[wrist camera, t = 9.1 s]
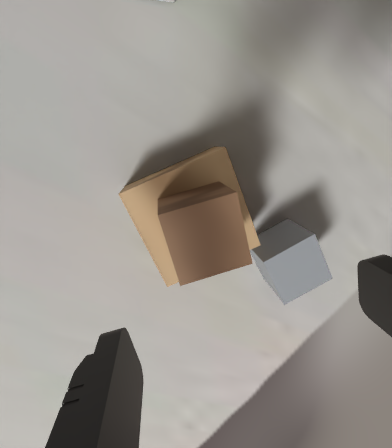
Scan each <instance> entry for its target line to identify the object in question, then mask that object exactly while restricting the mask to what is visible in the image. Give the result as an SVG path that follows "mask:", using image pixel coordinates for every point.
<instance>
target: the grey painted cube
mask: <svg viewBox="0 0 392 448" xmlns="http://www.w3.org/2000/svg"><path fill="white" fill-rule="evenodd" d="M257 236H258V239H259V242H260V246H258V247H256V248H253V249H251V250H250V253H251V255H252V257H253V259H254V261H255V263H256V264H257V266H258V268H259V270H260V272H261V274H262V276H263V278H264V280H265V281H266V282H267V283H268V285H269V286H270V287H271V289H272V290H273V291H274V292H275V294H276V295H277V296H278V297H279V299H280V300H281V301H282V302H283V304H284V305H285V304H287V303H289V302H291V301H292V300H294V299H296V298H298V297H300V296H302V295H303V294H305V293H307V292H309V291H311V290H312V289H314V288H316V287H318V286H320V285H322V284H323V283H325V282H327V281H329V280H331V279H332V275H331V273H330V270H329V268H328V265H327V263H326V260H325V258H324V255H323V253H322V250H321V248H320V245H319V243H318V240H317V238H316V235H315V234H314V233H313V232H311V231H309V230H307V229H305V228H304V227H302V226H300V225H298V224H297V223H295V222H293V221H291V220H289V219H286V220H284V221H282V222H280V223H279V224H277V225H275V226H273V227H271V228H270V229H268V230H266V231H264V232H262V233H261V234H259V235H257Z"/></svg>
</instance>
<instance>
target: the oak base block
mask: <svg viewBox="0 0 392 448" xmlns="http://www.w3.org/2000/svg"><path fill="white" fill-rule="evenodd" d="M218 181H219V182H221V183H223V184H224V185H226V186H228V187H229V188H231V189H233V190H234V191H236V192H237V194H238V199H239V203H240V208H241V213H242V217H243V222H244V227H245V231H246V236H247V241H248V245H249V250H251V249H253V248H256V247H258V246H260V242H259V239H258V236H257V233H256V231H255V228H254V225H253V222H252V219H251V217H250V214H249V211H248V208H247V205H246V203H245V200H244V197H243V194H242V191H241V189H240V186H239V183H238V180H237V177H236V175H235V172H234V169H233V166H232V163H231V161H230V158H229V155H228V152H227V150H226V147H213V148H210V149H208V150H206V151H204V152H201V153H199V154H197V155H194V156H192V157H190V158H188V159H185V160H183V161H181V162H179V163H176V164H174V165H172V166H169V167H167V168H165V169H163V170H160V171H158V172H156V173H154V174H151V175H149V176H147V177H144V178H142V179H140V180H138V181H135V182H133V183H131V184H129V185H126V186H125V187H124V188H123V189H122V190H121V192H120V193H119V196H120V198H121V200H122V202H123V203H124V205H125V207H126V209H127V211H128V213H129V215H130V217H131V219H132V221H133V222H134V224H135V226H136V228H137V230H138V232H139V234H140V236H141V238H142V240H143V242H144V243H145V245H146V247H147V249H148V251H149V253H150V255H151V257H152V259H153V261H154V262H155V264H156V266H157V268H158V270H159V272H160V274H161V276H162V278H163V280H164V281H165V283H166V285H167V287H168V286H170V285H173V284H175V283H177V282H179V280H178V277H177V274H176V271H175V268H174V264H173V261H172V258H171V255H170V252H169V249H168V246H167V243H166V240H165V237H164V234H163V230H162V227H161V224H160V221H159V218H158V199H159V198H162V197H166V196H169V195H173V194H176V193H180V192H183V191H187V190H190V189H194V188H197V187H201V186H204V185H208V184H211V183H214V182H218Z"/></svg>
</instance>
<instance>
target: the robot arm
mask: <svg viewBox="0 0 392 448" xmlns="http://www.w3.org/2000/svg"><path fill="white" fill-rule="evenodd" d="M358 290H359V302H360V305H361V308H362V310H363V311H364V313H365V314H366V315H367V316H368V318H370V319H371V320H372V321H373V322H374V323H375V324H377V325H378V326H379V327H380V328H381V329H383V330H384V331H385V332H386V333H387V334H389V335H390V336H391V337H392V257H390V256H387V255H379V256H376V257H372V258H369V259H365V260H362V261H360V262H359V263H358ZM142 395H143V373H142V367H141V364H140V361H139V358H138V356H137V353H136V351H135V348H134V346H133V343H132V341H131V338H130V336H129V333H128V331H127V329H126V328H121V329H117V330H114V331H110V332H107V333H103V334H101V335H100V336H99V339H98V342H97V345H96V349H95V352H94V354H91V355H87V356H86V357H85V358H84V359H83V361H82V362H81V363H80V365H79V366H78V367H77V369H76V370H75V371H74V374H73V376H72V379H71V381H70V384H69V387H68V392H66V394H65V397H64V400H63V402H62V407H61V408H60V410H59V413H58V415H57V418H56V421H55V423H54V426H53V429H52V431H51V434H50V436H49V439H48V442H47V444H46V447H45V448H139V435H140V421H141V408H142Z"/></svg>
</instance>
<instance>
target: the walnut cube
mask: <svg viewBox="0 0 392 448" xmlns="http://www.w3.org/2000/svg"><path fill="white" fill-rule="evenodd" d="M158 218H159V221H160V224H161V227H162V230H163V234H164V237H165V240H166V243H167V246H168V249H169V252H170V255H171V258H172V261H173V264H174V268H175V271H176V274H177V277H178V280H179V283H180V286H181V285H185V284H188V283H191V282H194V281H197V280H201V279H204V278H207V277H210V276H214V275H217V274H220V273H223V272H227V271H230V270H233V269H236V268H240V267H243V266H246V265H249V264H252V259H251V255H250V250H249V245H248V241H247V236H246V231H245V227H244V222H243V217H242V213H241V208H240V203H239V199H238V194H237V192H236V191H234V190H233V189H231V188H229V187H228V186H226V185H224V184H223V183H221V182H219V181H218V182H214V183H211V184H208V185H204V186H201V187H197V188H194V189H190V190H187V191H183V192H180V193H176V194H173V195H169V196H166V197H162V198H159V199H158Z"/></svg>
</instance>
